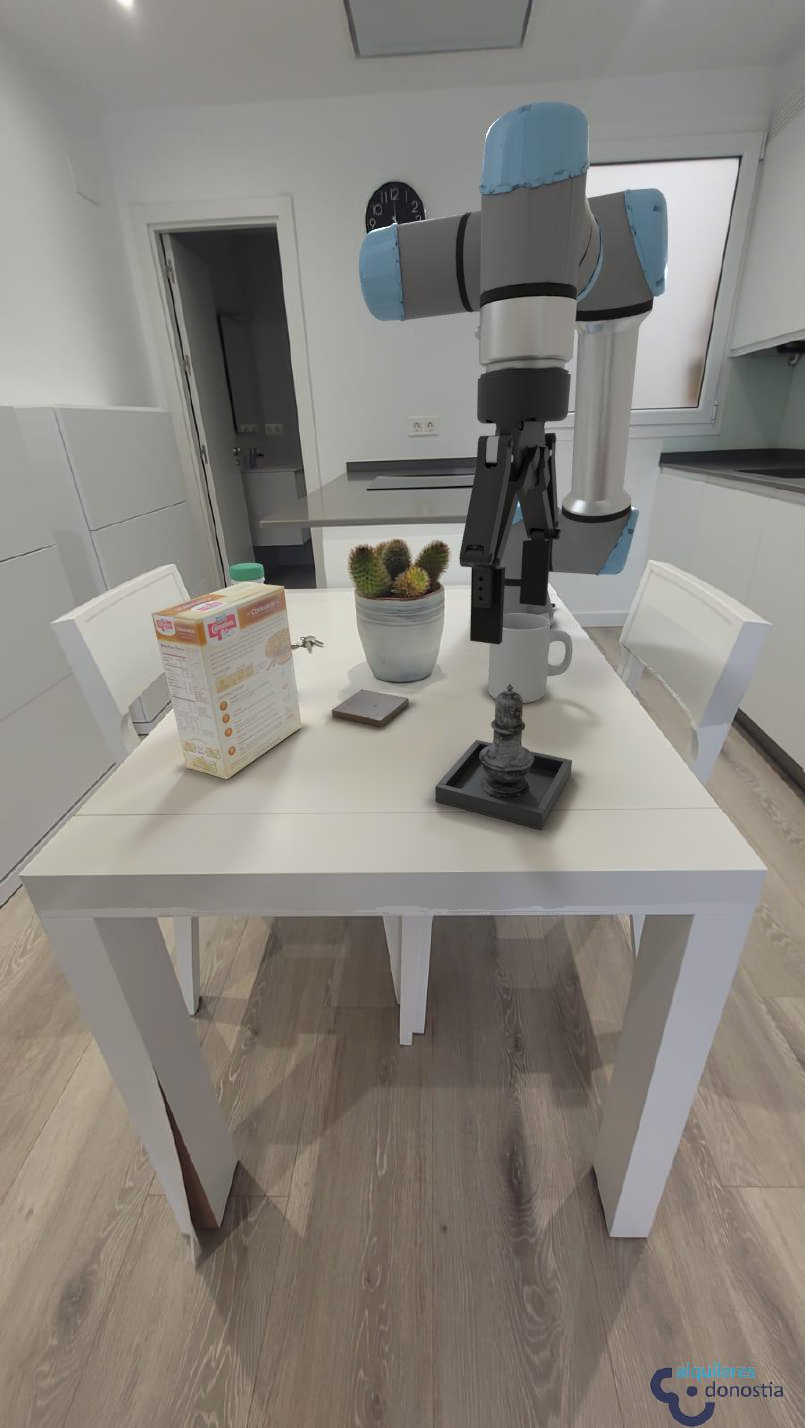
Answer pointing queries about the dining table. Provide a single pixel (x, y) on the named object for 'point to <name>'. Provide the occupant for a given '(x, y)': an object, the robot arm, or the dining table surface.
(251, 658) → the coffeecake box
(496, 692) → the mug
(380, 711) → the coaster
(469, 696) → the dining table surface
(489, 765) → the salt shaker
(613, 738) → the dining table surface
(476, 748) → the pan
